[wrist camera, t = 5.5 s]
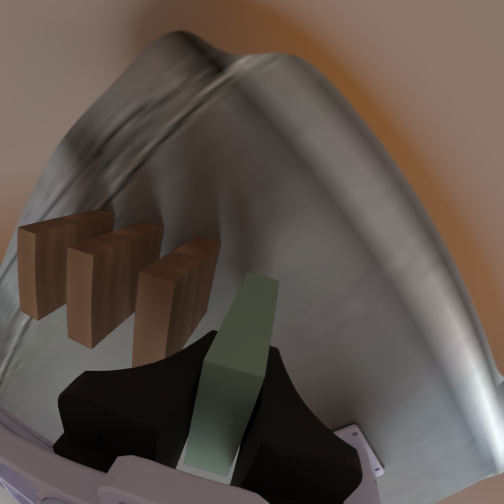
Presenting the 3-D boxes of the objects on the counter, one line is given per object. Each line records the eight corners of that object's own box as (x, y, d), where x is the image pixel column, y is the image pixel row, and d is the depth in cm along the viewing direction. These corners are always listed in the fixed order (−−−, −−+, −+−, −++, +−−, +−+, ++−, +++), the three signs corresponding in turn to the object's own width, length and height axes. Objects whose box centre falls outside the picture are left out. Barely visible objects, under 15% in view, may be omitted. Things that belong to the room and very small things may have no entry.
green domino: (279, 280, 15) (264, 377, 7) (254, 362, 16) (227, 476, 8) (247, 272, 15) (203, 360, 7) (226, 354, 16) (183, 463, 9)
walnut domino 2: (164, 227, 20) (93, 255, 12) (153, 294, 21) (91, 349, 13) (143, 221, 20) (67, 246, 12) (134, 288, 21) (68, 337, 13)
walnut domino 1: (115, 214, 20) (35, 234, 12) (108, 278, 21) (37, 320, 13) (97, 209, 20) (17, 227, 12) (91, 272, 21) (20, 310, 14)
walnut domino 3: (221, 242, 19) (175, 282, 12) (206, 311, 21) (162, 378, 13) (197, 236, 19) (139, 271, 12) (184, 305, 21) (132, 367, 13)
